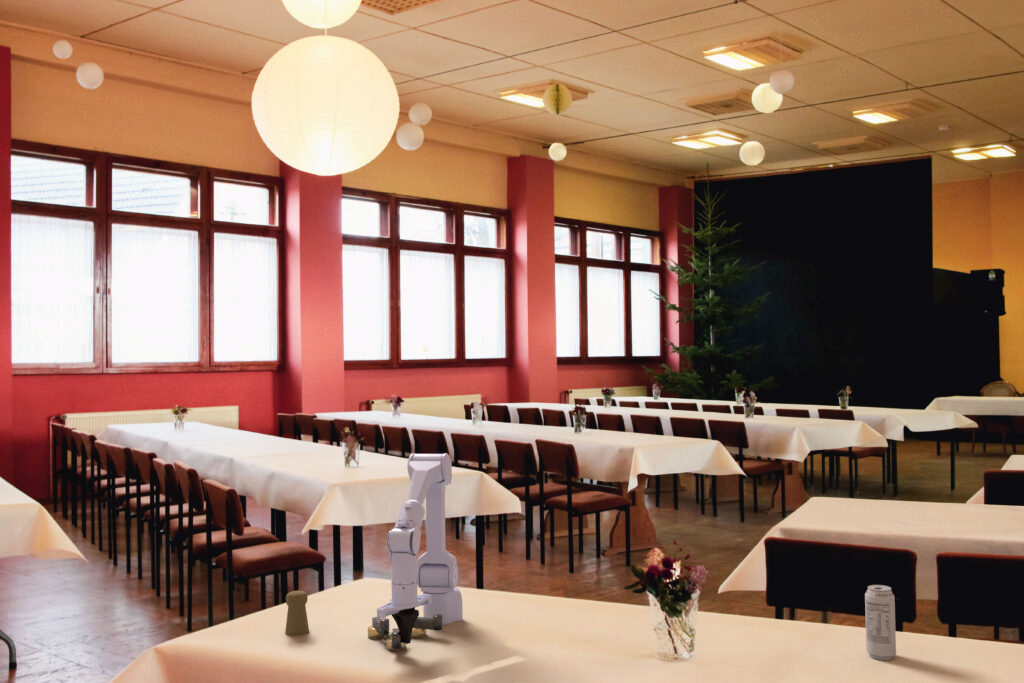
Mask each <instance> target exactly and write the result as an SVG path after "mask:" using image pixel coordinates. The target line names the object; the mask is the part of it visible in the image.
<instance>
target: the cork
mask: <svg viewBox="0 0 1024 683" xmlns="http://www.w3.org/2000/svg"><path fill="white" fill-rule="evenodd" d="M308 598H309V597H308V594H307V592H306V591H304V590H292V591H290V592H288V593H287V594H286V596H285V604H286V605H287V614H286V623H285V630H284V631H285V632H284V634H285V635H287V636H289V637H290V636H291V637H297V636H299V637H300V636H305V635H307V634H309V633H310V628H309V621H308V614H307V609H306V608H307V607H306V604H307V603H308Z"/></svg>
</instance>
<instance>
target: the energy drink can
mask: <svg viewBox="0 0 1024 683" xmlns="http://www.w3.org/2000/svg"><path fill="white" fill-rule="evenodd" d="M895 600H896V599H895V595H894V593H893V591H892V587H890V586H888V585H884V584H872V585H871V584H870V585H868V586H867V590H866V591H865V593H864V604H865V605H864V606H865V608H864V611H865V642H866V643H865V646H866V648H865V650H866V653H868V656H869V657H870V658H872V659H875V660H878V661H879V660H880V661H889V660H892V659H894V656H896V654H897V646H896V645H897V640H896V635H897V634H896V605H895V604H896V602H895Z"/></svg>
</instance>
